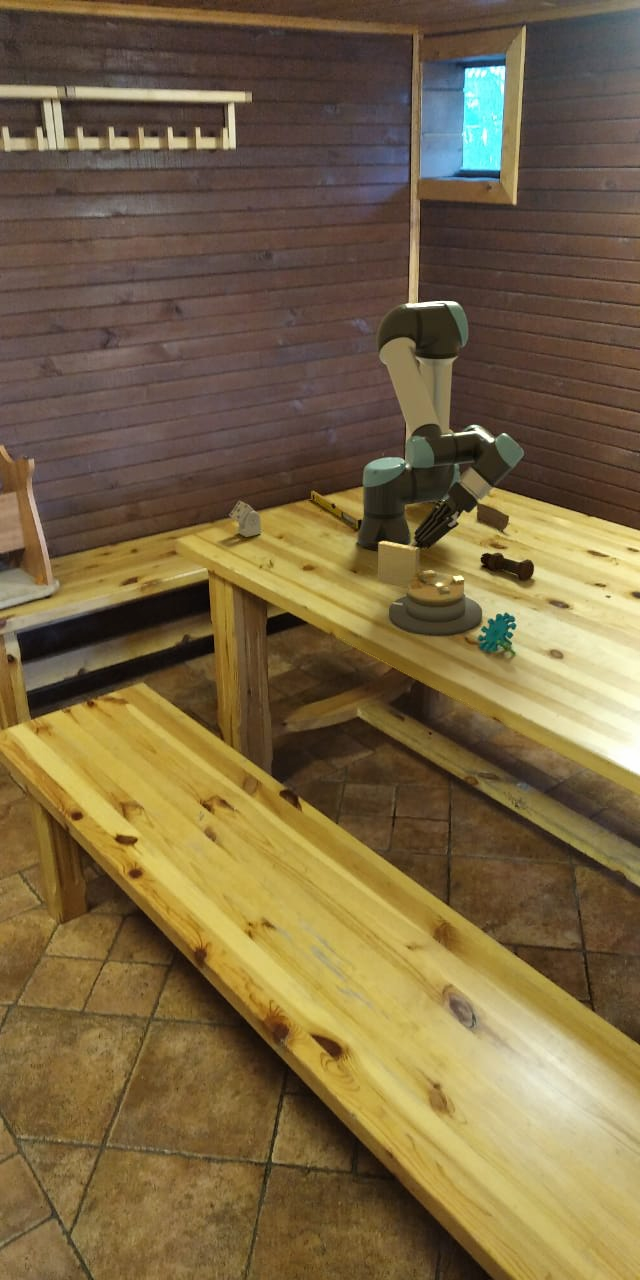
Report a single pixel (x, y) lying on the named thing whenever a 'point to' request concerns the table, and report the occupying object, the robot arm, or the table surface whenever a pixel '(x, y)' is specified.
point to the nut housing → (435, 617)
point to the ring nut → (417, 576)
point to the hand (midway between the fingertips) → (399, 562)
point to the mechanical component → (246, 519)
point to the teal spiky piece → (498, 633)
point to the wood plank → (492, 516)
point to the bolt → (509, 565)
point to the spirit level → (335, 509)
